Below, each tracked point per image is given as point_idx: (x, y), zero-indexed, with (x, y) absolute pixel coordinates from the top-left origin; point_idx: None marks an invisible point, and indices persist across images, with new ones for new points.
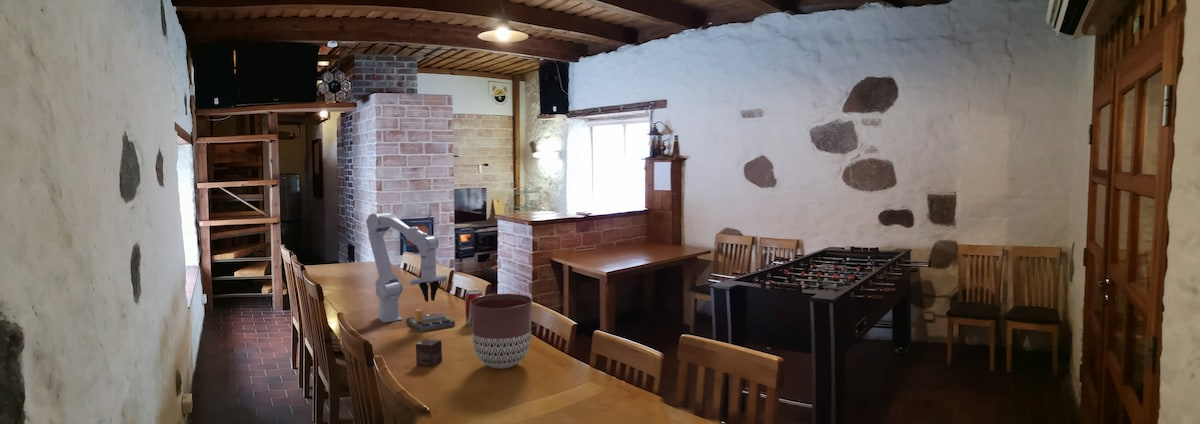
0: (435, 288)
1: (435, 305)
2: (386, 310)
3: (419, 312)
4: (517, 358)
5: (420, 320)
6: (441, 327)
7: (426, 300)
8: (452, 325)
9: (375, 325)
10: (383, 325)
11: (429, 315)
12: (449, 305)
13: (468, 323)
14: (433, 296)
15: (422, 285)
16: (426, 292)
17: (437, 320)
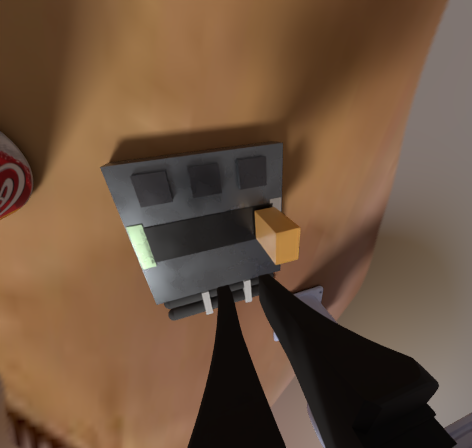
0: (236, 385)
1: (163, 402)
2: (331, 318)
3: (286, 226)
4: None
5: (265, 211)
6: (180, 153)
7: (273, 278)
8: (121, 161)
9: (342, 270)
10: (328, 265)
11: (202, 307)
12: (121, 404)
13: (10, 140)
14: (232, 306)
15: (428, 396)
16: (314, 320)
17: (194, 195)
